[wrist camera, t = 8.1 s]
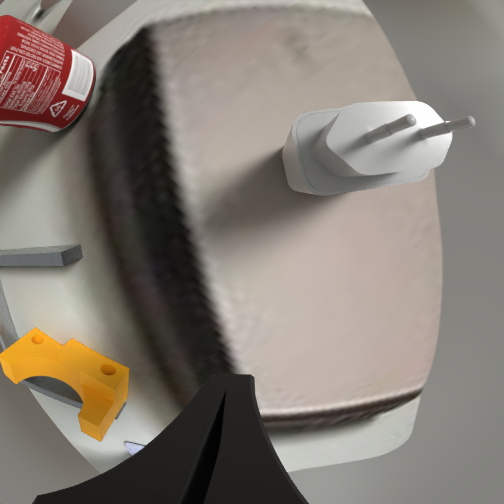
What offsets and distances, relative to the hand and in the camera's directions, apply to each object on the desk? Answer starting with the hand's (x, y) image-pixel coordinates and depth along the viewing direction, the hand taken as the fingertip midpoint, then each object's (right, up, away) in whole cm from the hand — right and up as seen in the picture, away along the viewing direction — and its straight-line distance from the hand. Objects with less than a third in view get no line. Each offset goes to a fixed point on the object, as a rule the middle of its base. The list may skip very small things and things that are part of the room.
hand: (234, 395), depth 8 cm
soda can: (-14, +18, +7) cm, 24 cm away
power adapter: (+5, +10, +8) cm, 14 cm away
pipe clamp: (-16, -5, +13) cm, 22 cm away
